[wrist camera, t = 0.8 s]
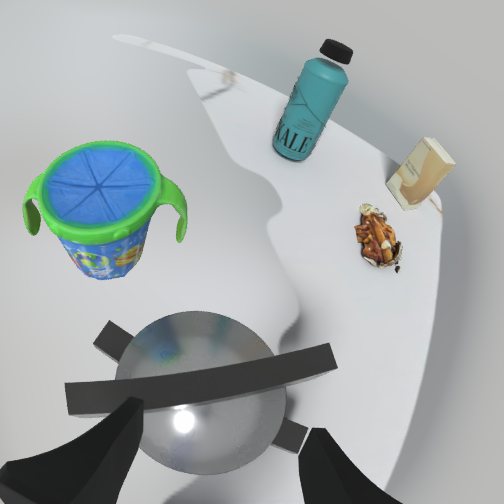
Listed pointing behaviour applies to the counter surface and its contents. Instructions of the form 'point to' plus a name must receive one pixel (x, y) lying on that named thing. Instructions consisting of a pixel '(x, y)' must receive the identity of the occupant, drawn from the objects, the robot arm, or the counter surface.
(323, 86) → the beverage bottle
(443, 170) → the skincare box
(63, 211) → the snack cup
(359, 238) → the brown lumpy piece
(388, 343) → the counter surface
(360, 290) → the counter surface
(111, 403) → the lid
